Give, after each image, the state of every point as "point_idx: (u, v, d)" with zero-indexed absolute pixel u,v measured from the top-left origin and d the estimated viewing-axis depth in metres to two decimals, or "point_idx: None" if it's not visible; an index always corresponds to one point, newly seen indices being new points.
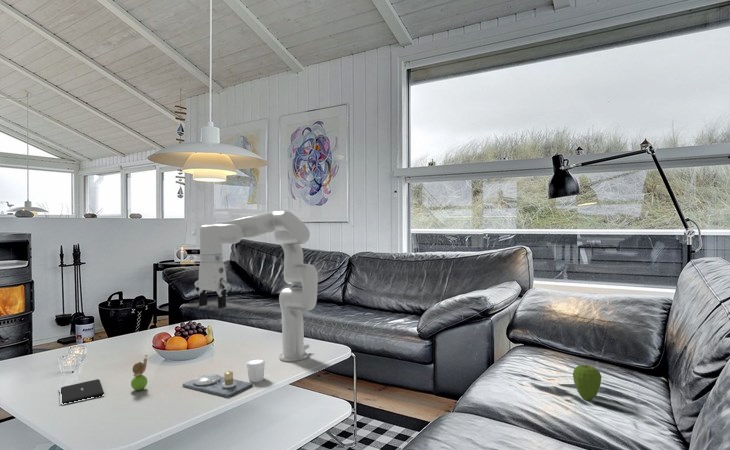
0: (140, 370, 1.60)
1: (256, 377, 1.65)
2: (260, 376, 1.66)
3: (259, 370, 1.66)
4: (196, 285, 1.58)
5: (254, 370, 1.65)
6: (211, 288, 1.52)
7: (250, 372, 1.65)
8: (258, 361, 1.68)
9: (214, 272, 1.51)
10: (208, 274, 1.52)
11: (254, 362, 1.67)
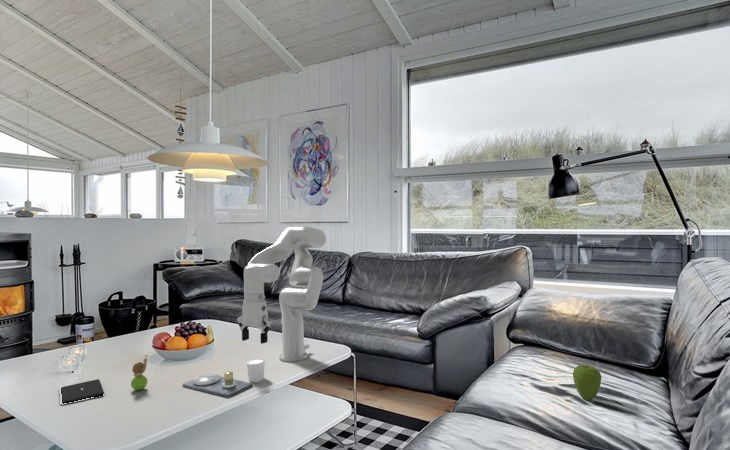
0: (140, 370, 1.60)
1: (256, 377, 1.65)
2: (260, 376, 1.66)
3: (259, 370, 1.66)
4: (239, 321, 1.71)
5: (254, 370, 1.65)
6: (254, 325, 1.65)
7: (250, 372, 1.65)
8: (258, 361, 1.68)
9: (257, 310, 1.64)
10: (251, 312, 1.65)
11: (254, 362, 1.67)
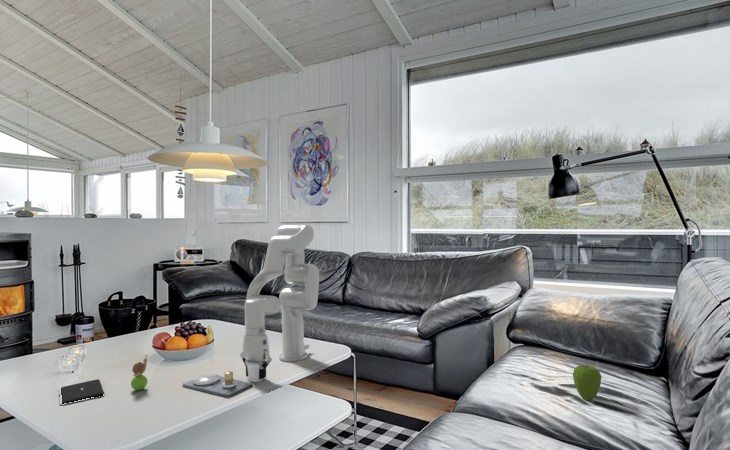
0: (140, 370, 1.60)
1: (256, 377, 1.65)
2: None
3: None
4: (242, 356, 1.71)
5: (254, 370, 1.65)
6: (255, 359, 1.65)
7: (250, 372, 1.65)
8: None
9: (259, 344, 1.64)
10: (253, 346, 1.65)
11: (254, 362, 1.67)
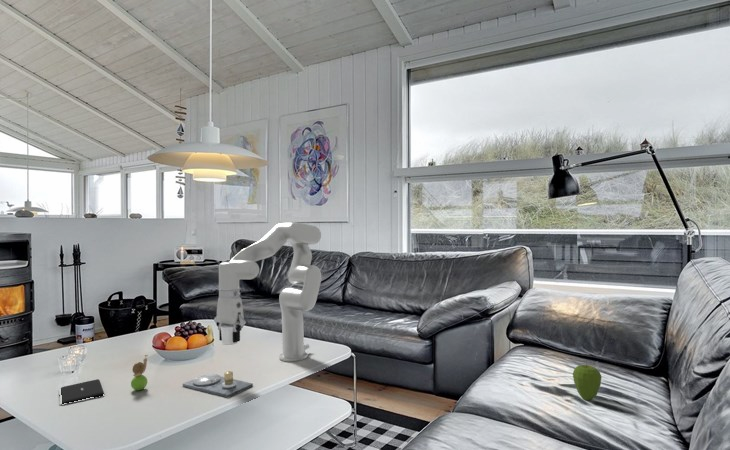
0: (140, 370, 1.60)
1: (230, 340, 1.63)
2: None
3: None
4: (216, 321, 1.68)
5: (228, 333, 1.63)
6: (229, 322, 1.63)
7: (223, 335, 1.63)
8: None
9: (232, 307, 1.62)
10: (226, 309, 1.63)
11: (228, 325, 1.65)
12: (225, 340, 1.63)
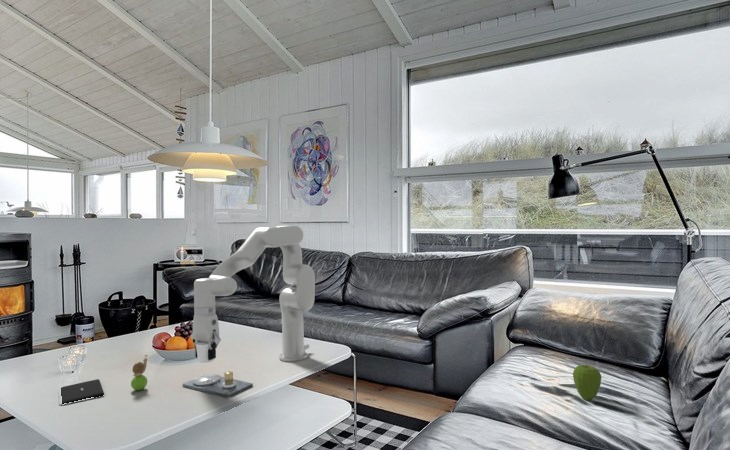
0: (140, 370, 1.60)
1: (205, 358, 1.61)
2: None
3: None
4: (192, 337, 1.67)
5: (203, 350, 1.61)
6: (204, 339, 1.61)
7: (199, 352, 1.61)
8: None
9: (207, 324, 1.60)
10: (201, 326, 1.61)
11: (203, 343, 1.63)
12: (200, 357, 1.61)
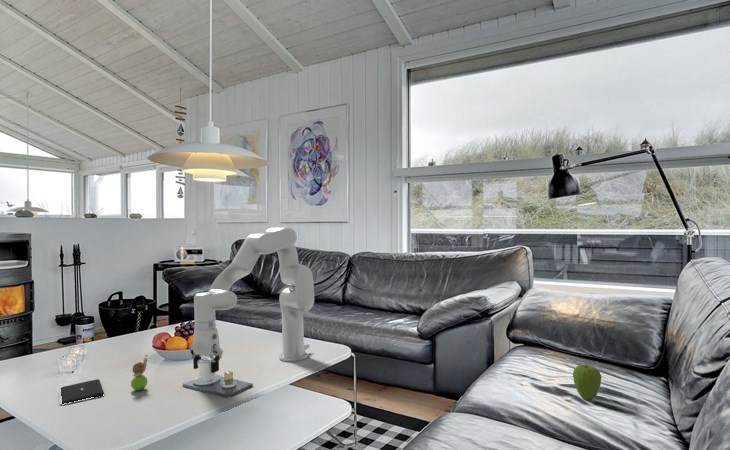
0: (140, 370, 1.60)
1: (206, 376, 1.61)
2: (211, 375, 1.62)
3: (210, 369, 1.62)
4: (191, 348, 1.67)
5: (204, 369, 1.61)
6: (205, 354, 1.61)
7: (200, 371, 1.61)
8: (209, 360, 1.64)
9: (208, 339, 1.60)
10: (202, 340, 1.62)
11: (205, 361, 1.63)
12: (202, 376, 1.61)
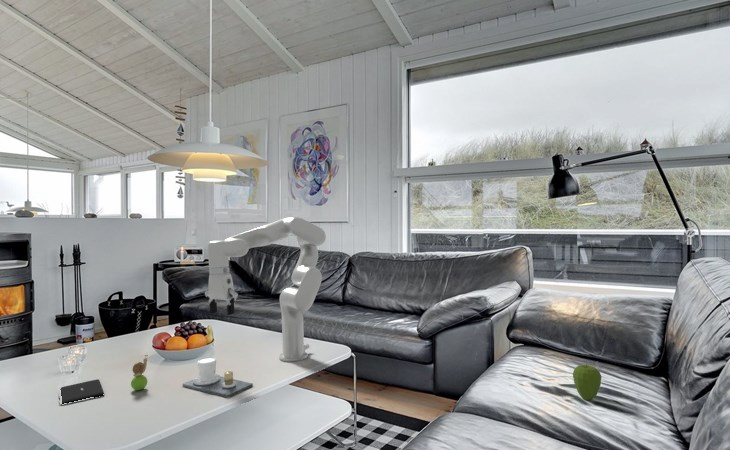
0: (140, 370, 1.60)
1: (206, 376, 1.61)
2: (211, 375, 1.62)
3: (210, 369, 1.62)
4: (206, 295, 1.76)
5: (204, 369, 1.61)
6: (220, 297, 1.70)
7: (200, 371, 1.61)
8: (209, 360, 1.64)
9: (223, 283, 1.69)
10: (217, 285, 1.70)
11: (205, 361, 1.63)
12: (202, 376, 1.61)
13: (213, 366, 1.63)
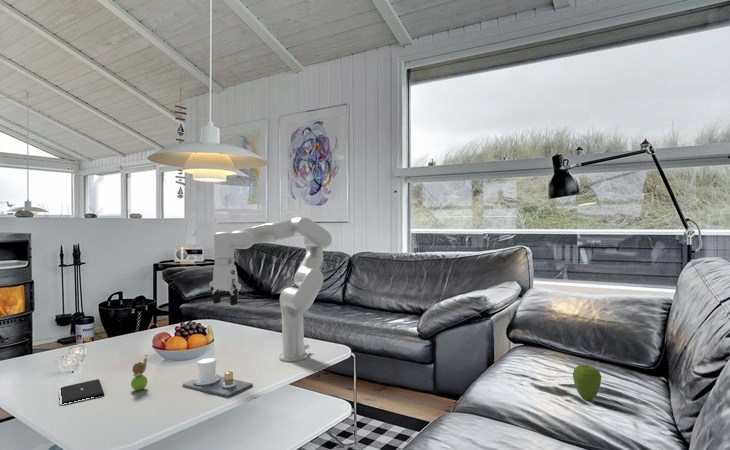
0: (140, 370, 1.60)
1: (206, 376, 1.61)
2: (211, 375, 1.62)
3: (210, 369, 1.62)
4: (210, 285, 1.79)
5: (204, 369, 1.61)
6: (224, 288, 1.73)
7: (200, 371, 1.61)
8: (209, 360, 1.64)
9: (227, 273, 1.72)
10: (222, 275, 1.73)
11: (205, 361, 1.63)
12: (202, 376, 1.61)
13: (213, 366, 1.63)
